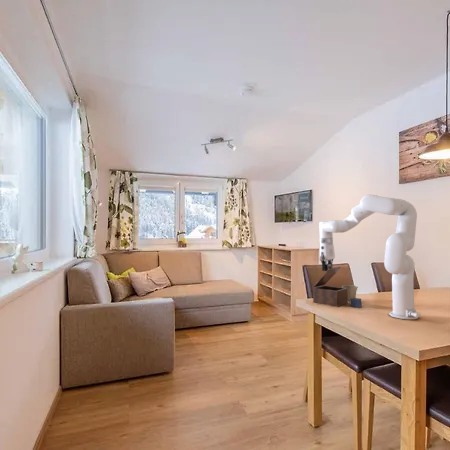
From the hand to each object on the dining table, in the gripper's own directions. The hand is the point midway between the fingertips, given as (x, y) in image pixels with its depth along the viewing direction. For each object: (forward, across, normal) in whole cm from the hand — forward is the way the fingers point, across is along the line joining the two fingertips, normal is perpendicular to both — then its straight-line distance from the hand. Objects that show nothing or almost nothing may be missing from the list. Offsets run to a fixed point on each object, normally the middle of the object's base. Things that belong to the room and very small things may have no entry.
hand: (327, 270), depth 187 cm
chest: (+20, 0, -1) cm, 20 cm away
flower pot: (+20, +15, -6) cm, 26 cm away
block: (+20, +2, -16) cm, 26 cm away
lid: (+5, 0, 0) cm, 5 cm away
